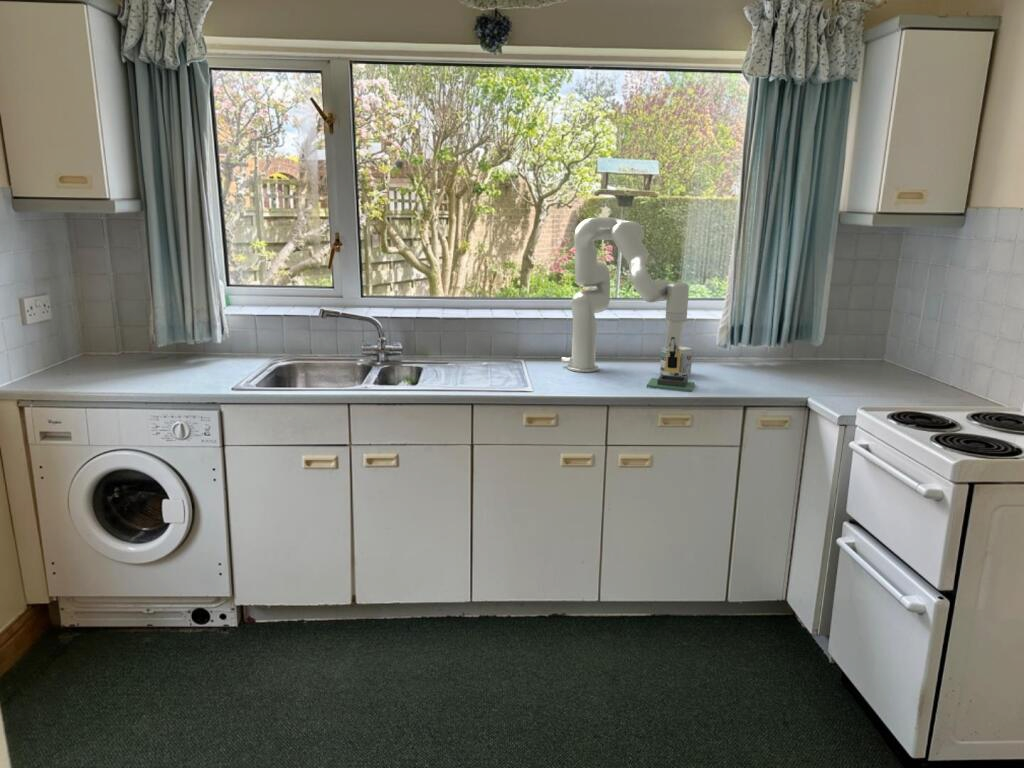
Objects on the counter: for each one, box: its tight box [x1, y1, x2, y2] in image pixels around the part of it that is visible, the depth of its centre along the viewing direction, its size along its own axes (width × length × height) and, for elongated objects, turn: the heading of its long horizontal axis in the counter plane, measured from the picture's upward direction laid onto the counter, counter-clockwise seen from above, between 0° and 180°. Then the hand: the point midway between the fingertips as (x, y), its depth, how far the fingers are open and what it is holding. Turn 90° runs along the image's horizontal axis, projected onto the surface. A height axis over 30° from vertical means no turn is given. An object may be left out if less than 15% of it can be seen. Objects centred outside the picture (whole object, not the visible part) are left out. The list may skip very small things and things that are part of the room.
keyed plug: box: [665, 349, 684, 373], centre depth 267 cm, size 6×4×8 cm, turn 71°
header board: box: [646, 374, 696, 393], centre depth 269 cm, size 16×12×3 cm
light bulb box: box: [659, 345, 694, 377], centre depth 287 cm, size 11×7×11 cm, turn 112°
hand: (672, 366), depth 267 cm, fingers closed on keyed plug, 4 cm apart
